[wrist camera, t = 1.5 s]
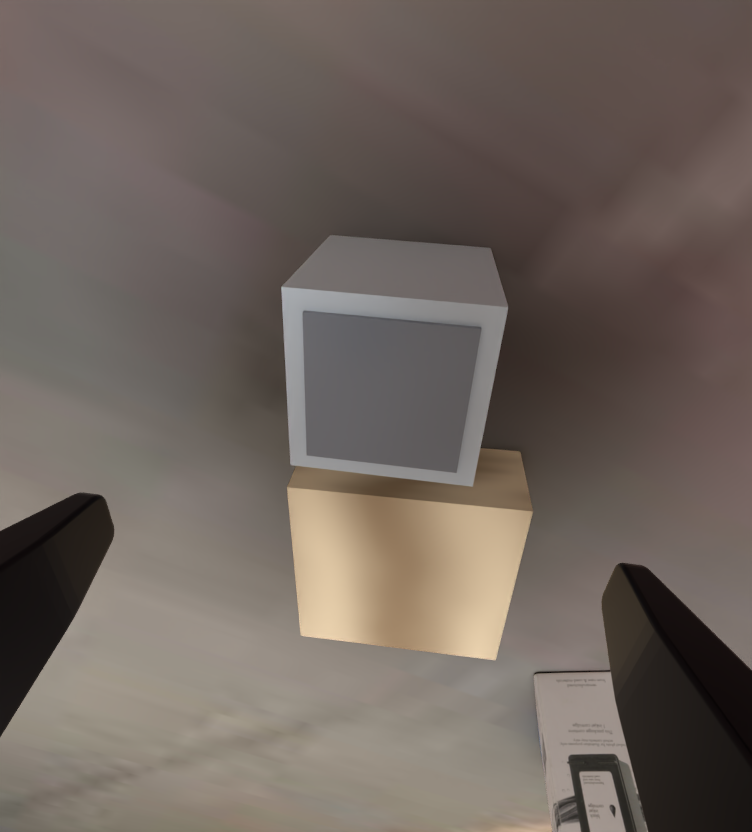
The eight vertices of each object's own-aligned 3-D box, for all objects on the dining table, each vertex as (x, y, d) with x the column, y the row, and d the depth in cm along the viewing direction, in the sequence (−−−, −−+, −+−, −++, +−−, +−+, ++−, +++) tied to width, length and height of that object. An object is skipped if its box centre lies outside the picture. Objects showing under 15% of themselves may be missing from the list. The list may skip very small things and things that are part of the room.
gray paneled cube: (490, 247, 17) (508, 309, 12) (466, 389, 20) (472, 489, 15) (330, 234, 17) (279, 288, 12) (330, 375, 20) (288, 468, 15)
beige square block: (519, 447, 21) (533, 511, 18) (489, 588, 26) (495, 660, 23) (311, 428, 22) (287, 487, 19) (319, 569, 27) (300, 635, 23)
